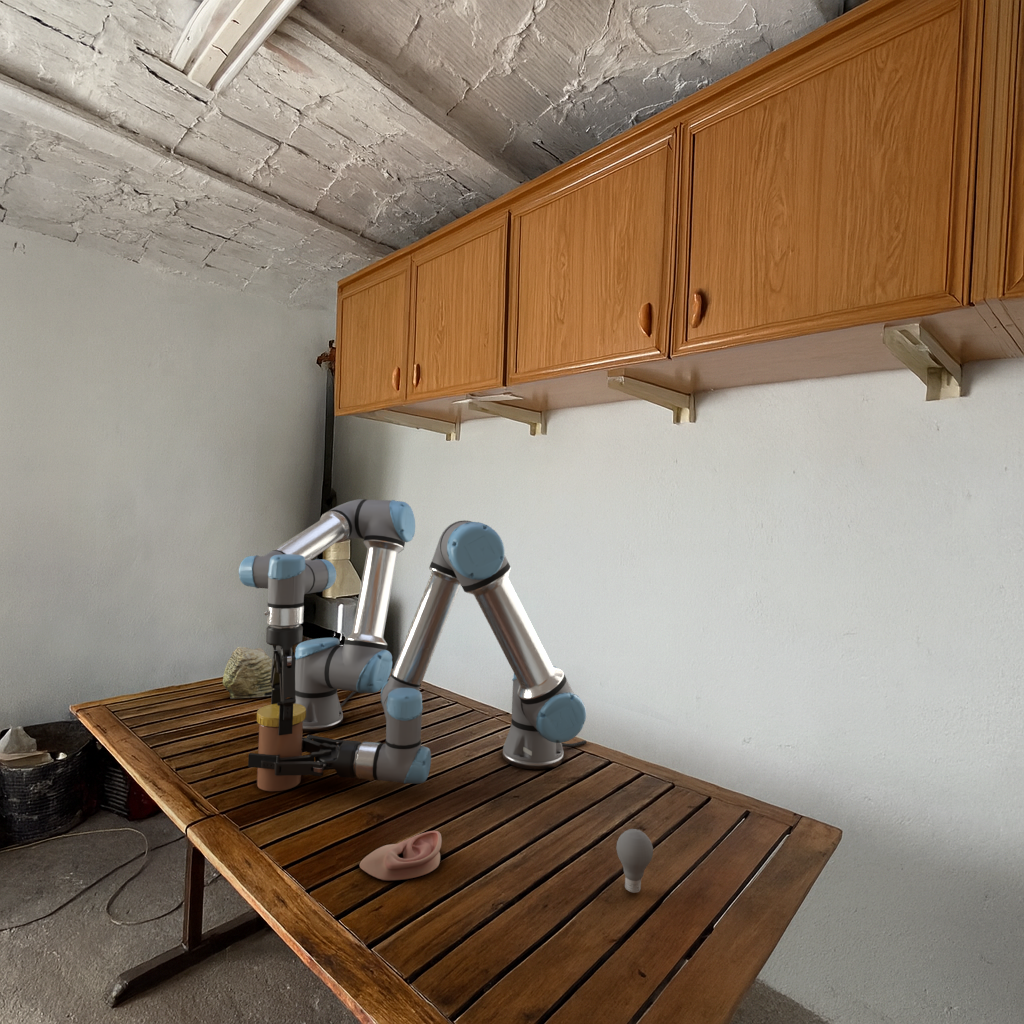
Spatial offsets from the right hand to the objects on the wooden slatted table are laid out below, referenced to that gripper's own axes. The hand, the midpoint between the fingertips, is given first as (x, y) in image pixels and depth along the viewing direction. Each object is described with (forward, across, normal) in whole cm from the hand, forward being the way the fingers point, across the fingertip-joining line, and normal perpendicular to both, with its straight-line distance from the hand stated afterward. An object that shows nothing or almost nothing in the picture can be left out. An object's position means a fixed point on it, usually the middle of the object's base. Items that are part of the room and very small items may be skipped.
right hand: (260, 750), depth 140 cm
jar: (-4, 0, -6) cm, 8 cm away
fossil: (+31, +55, -6) cm, 63 cm away
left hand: (-4, 0, +6) cm, 7 cm away
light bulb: (-79, -26, -6) cm, 84 cm away
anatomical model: (-39, -26, -6) cm, 47 cm away
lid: (-4, 0, +9) cm, 10 cm away
